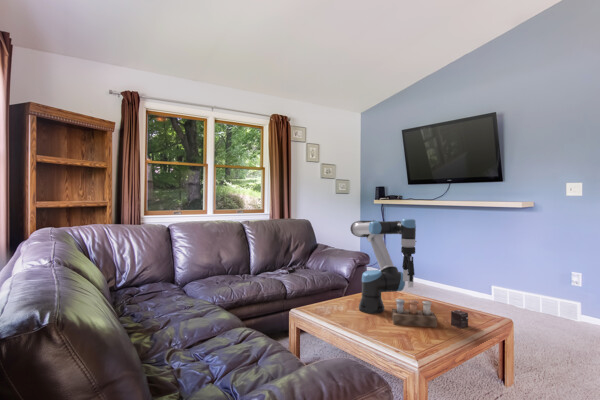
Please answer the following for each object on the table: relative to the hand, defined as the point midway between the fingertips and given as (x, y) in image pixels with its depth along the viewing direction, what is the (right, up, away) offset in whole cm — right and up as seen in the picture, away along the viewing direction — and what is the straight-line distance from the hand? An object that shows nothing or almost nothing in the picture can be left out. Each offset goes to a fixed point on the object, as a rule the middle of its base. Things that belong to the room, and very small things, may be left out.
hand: (408, 284), depth 186 cm
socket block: (+1, -20, -5) cm, 20 cm away
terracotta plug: (+1, -16, -5) cm, 16 cm away
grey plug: (-6, -16, -4) cm, 17 cm away
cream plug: (+8, -16, -6) cm, 19 cm away
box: (+24, -20, -10) cm, 33 cm away
